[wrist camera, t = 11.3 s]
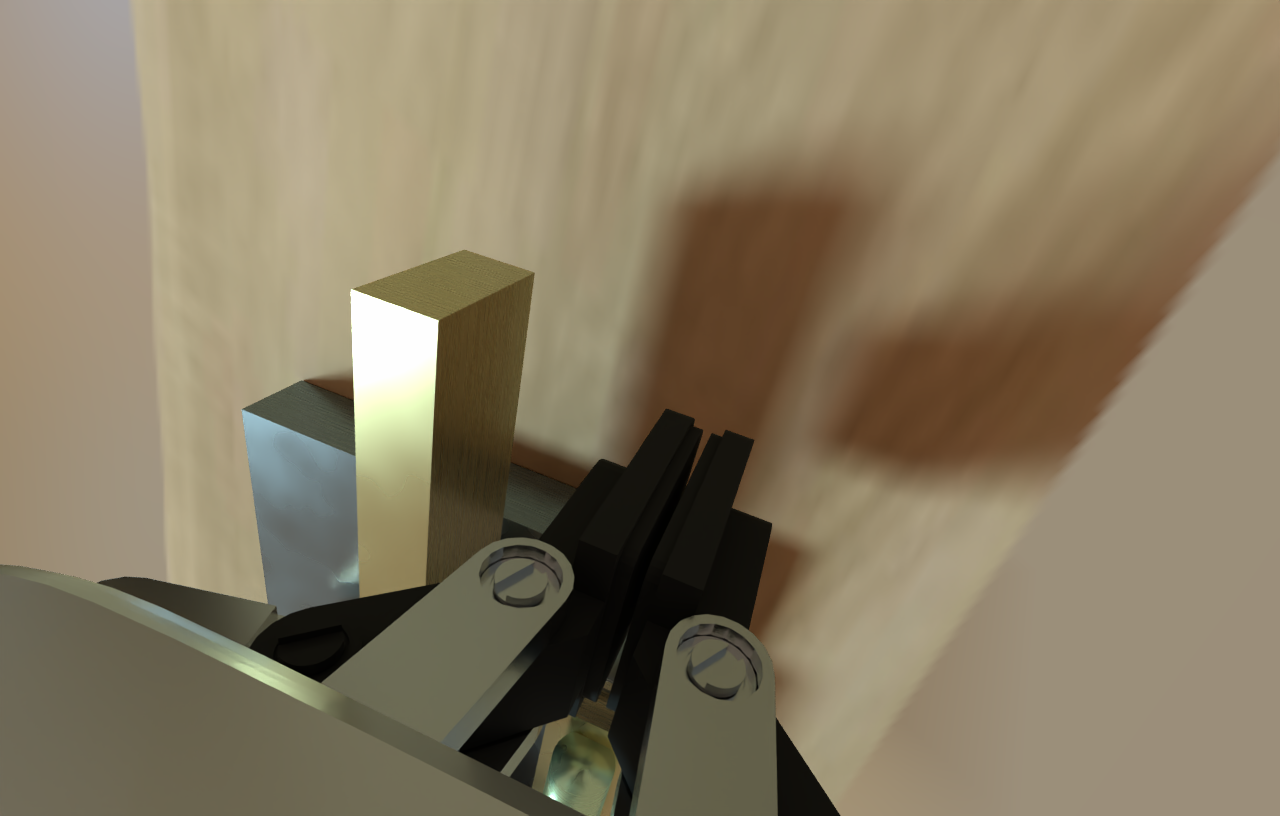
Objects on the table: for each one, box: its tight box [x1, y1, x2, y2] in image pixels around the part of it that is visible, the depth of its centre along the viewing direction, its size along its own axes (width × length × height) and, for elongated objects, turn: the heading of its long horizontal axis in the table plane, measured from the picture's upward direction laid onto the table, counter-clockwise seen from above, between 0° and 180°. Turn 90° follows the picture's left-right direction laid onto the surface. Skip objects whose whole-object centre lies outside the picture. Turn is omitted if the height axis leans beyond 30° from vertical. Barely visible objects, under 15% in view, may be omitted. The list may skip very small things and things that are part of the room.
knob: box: [351, 250, 535, 598], centre depth 13 cm, size 13×4×4 cm, turn 168°
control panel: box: [242, 381, 627, 816], centre depth 20 cm, size 20×13×4 cm, turn 168°
